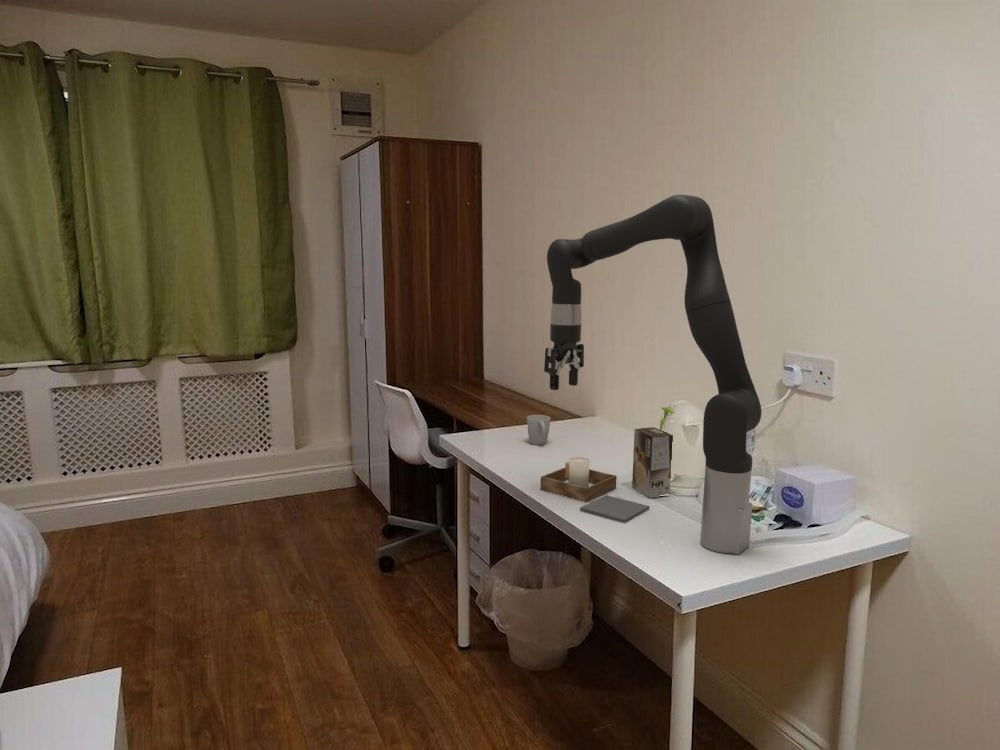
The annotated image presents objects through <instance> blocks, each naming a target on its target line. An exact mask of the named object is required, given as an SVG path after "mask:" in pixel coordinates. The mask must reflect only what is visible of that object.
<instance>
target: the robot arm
mask: <svg viewBox="0 0 1000 750" xmlns="http://www.w3.org/2000/svg"><path fill="white" fill-rule="evenodd" d="M711 209H712V208H711V207H710V205H709V204H708V202H706V201H705V200H704V199H703V198H702V197H699V196H695V195H687V194H673V195H671V196H668V197H666V198H665V199H663V200H661V201H659V202H657V203H656V204H654V205H652V206H650V207H649V208H647V209H645V210H643V211H641V212H638V213H637V214H635V215H632V216H631V217H627V218H625V219H623V220H620V221H617V222H613V223H610V224H607V225H604V226H601V227H598V228H596V229H592V230H590V231H588V232H585V234H583V236H582V237H581V238H575V239H568V238H559V239H555V240H554V241H552V242H551V244H549V246H548V249H547V254H546V261H547V262H546V263H547V268H548V272H549V277H550V278H549V279H550V282H551V285H552V286H551V287H552V290H551V291H552V295H551V297H552V298H551V309H550V323H549V324H550V326H549V327H550V328H549V329H550V330H549V331H550V333H549V335H550V336H549V340H550V341H551V342H552V343H553V348H552V347H546V348H545V350H544V369H543V371H544V373H547V374H548V375H549V389H550V390H552V391H558V390H559V389H560V374H561V370H562V369H563V368H565V365H567V366H568V369H569V370H568V385H569V386H573V387H574V386H578V384H579V383H578V381H579V371H580V370H581V368H584V367H585V350H584V349H585V346H584V343H580V342H581V341H582V314H583V313H582V284H581V282H580V281H579V280H578V279H575V278H574V277H573V272H572V270H576V269H581V268H584V267H587V266H589V265H592V264H593V263H595V262H597V261H601V260H604V259H607V258H612V257H615V256H617V255H620V254H622V253H625V252H627V251H628V250H631V248H635V247H636V246H637V245H641V244H643V243H646V242H651V241H658V240H659V241H660V240H667V239H668V240H669V239H671V240H674V241H680V244H681V247H682V250H683V253H684V258H685V261H686V271H687V272H686V280H685V281H686V282H685V290H684V309H685V314H686V317H687V322H688V326H689V330H690V333H691V335H692V338H693V340H694V342H695V343H696V345H697V347H698V349H699V350H700V352H701V353H702V354H703V356H704V358H705V359H706V360H707V362H708V363H709V365H710V367H711V369H712V372H713V375H714V377H715V378H714V379H715V381H716V382H715V383H716V386H717V391H718V393H717V394H715V395H714V396H712V397H710V399H709V400H708V401H707V403H706V405H705V408H704V413H703V421H702V422H703V426H702V427H703V428H702V451H703V455H704V457H705V466H704V467H705V468H704V483H703V493H702V495H703V496H702V497H703V498H702V508H701V509H702V511H701V512H702V513H701V522H700V523H701V526H700V539H699V540H700V541H699V542H700V544H701V546H702V547H704V548H706V549H707V550H711V551H713V552H717V553H723V554H733V555H740V554H742V552H743V551H745V550H746V549H748V547H750V538H751V524H752V513H753V512H752V511H753V504H752V503H751V502H750V496H751V495H750V494H751V483H752V471H753V470H752V467H753V457H752V455H751V454H750V453H749V452H747V433H748V432H750V431H753V430H754V429H755V428H756V427H758V425H759V424H760V421H761V419H762V405H761V401H760V399H759V396H758V394H757V390H756V388H755V386H754V385H755V384H754V383H753V380H752V378H751V375H750V372H749V369H748V365H747V363H746V362H747V361H746V358H745V354H744V351H743V347H742V342H741V339H740V335H739V331H738V326H737V321H736V317H735V313H734V310H733V305H732V302H731V298H730V294H729V291H728V288H727V284H726V279H725V274H724V271H723V269H722V264H721V261H720V257H719V251H718V245H717V237H716V230H715V223H714V218H713V213H712V210H711Z"/></svg>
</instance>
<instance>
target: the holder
mask: <svg viewBox="0 0 1000 750" xmlns="http://www.w3.org/2000/svg"><path fill="white" fill-rule="evenodd" d="M563 481H564V482H563ZM565 481H569V478H566V477H565V467H563V468H560V469H557V470H555V471H552V472H550V473H548V474H545V475H542V476H540V485H539V487H540V491H543V490H544V491H543V492H547V491H548V492H547V493H550V492H552V493H551V494H554V493H555V495H558V494H559V496H561V495H563V496H562V497H565V496H567V497H566V498H569V497H570V499H572V498H574V499H573V500H576V499H577V500H576V501H580V500H581V501H580V502H583V501H584V502H583V503H588V502H589V503H590V502H592V501H594V500H596V499H598V498H600V497H602V496H605V494H606V495H607V494H608V493H610V492H612V491H614V490H616V489H617V475H615V474H611V473H606V472H604V471H603V472H601V471H599V470H594V469H590V468H589V484H592V485H590V486H589V487H587V488H585V487H582V486H578V485H574V484H570V483H569V482H565Z"/></svg>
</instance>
